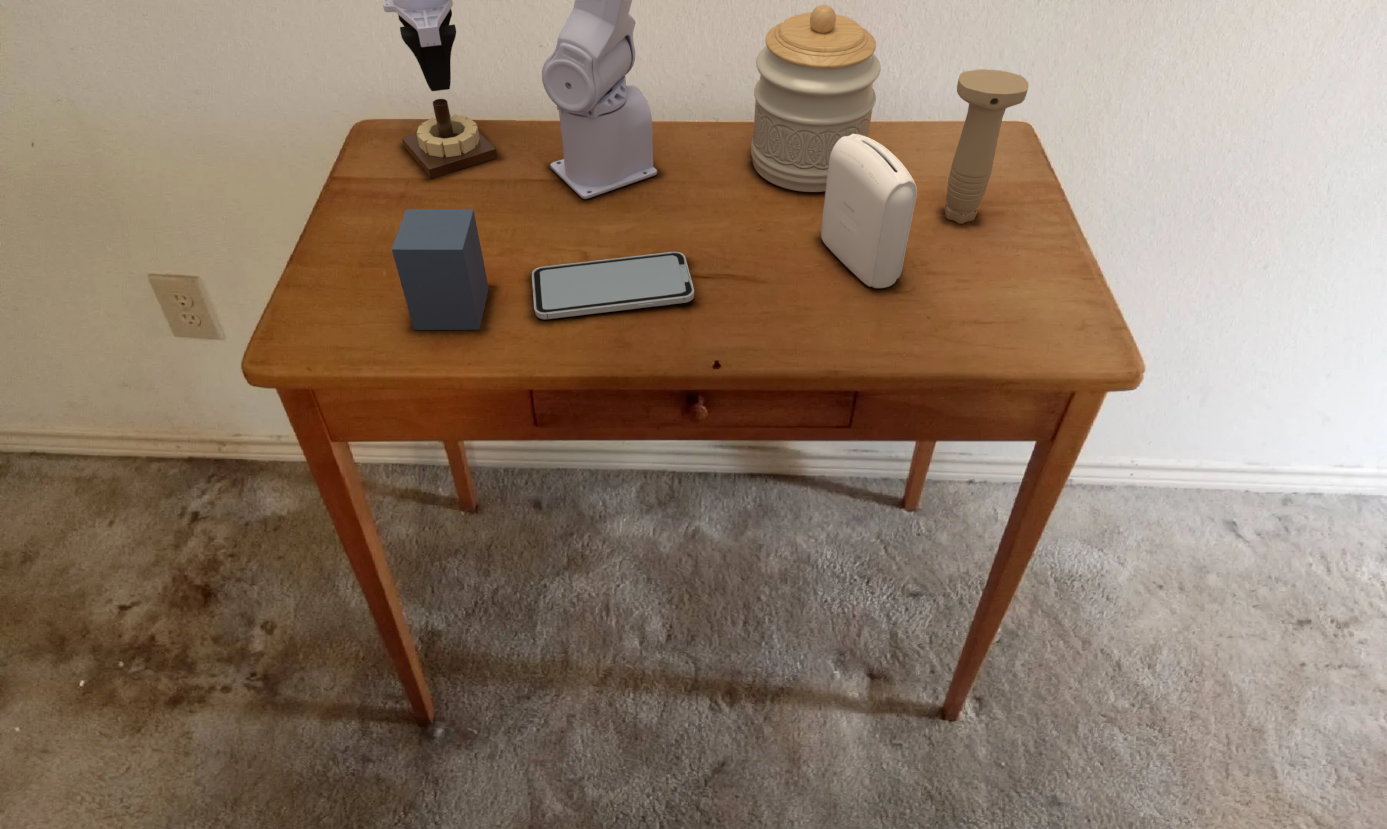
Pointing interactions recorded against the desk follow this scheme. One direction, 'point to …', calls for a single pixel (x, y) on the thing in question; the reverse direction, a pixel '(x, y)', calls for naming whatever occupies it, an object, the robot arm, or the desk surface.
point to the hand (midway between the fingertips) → (439, 82)
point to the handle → (979, 137)
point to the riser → (441, 269)
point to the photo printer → (868, 209)
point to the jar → (811, 96)
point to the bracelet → (448, 146)
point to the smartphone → (611, 285)
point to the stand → (445, 164)
